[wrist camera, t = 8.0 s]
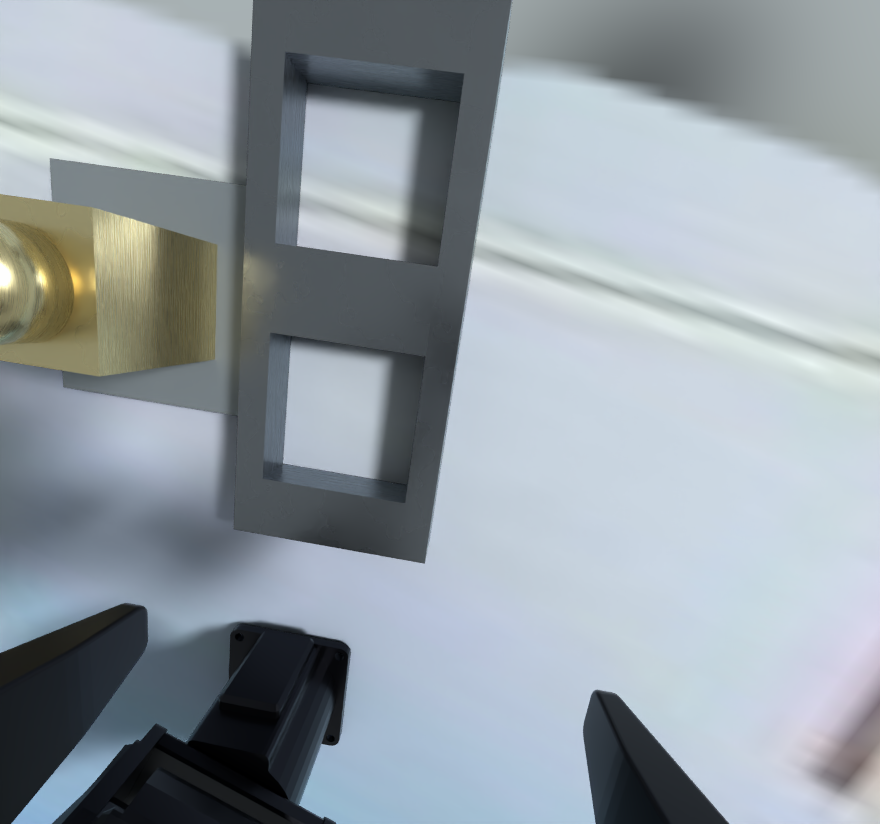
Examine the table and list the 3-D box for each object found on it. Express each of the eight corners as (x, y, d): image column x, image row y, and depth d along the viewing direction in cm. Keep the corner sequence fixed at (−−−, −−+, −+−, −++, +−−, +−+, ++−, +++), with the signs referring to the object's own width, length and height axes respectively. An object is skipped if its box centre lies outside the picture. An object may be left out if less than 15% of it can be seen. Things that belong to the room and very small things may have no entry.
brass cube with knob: (214, 359, 19) (34, 386, 11) (111, 343, 19) (-137, 358, 11) (217, 244, 18) (18, 185, 10) (107, 228, 18) (-170, 158, 10)
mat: (270, 417, 20) (264, 420, 19) (75, 385, 20) (63, 387, 20) (283, 194, 18) (276, 189, 17) (63, 163, 18) (49, 158, 18)
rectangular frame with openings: (429, 540, 21) (424, 563, 19) (255, 510, 21) (233, 529, 19) (509, 25, 16) (514, -17, 14) (281, -1, 16) (254, -45, 14)
